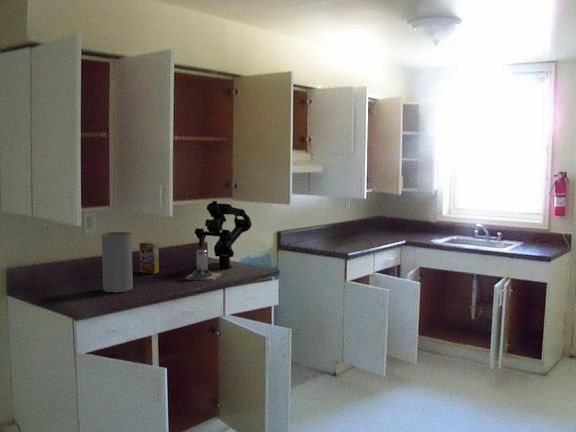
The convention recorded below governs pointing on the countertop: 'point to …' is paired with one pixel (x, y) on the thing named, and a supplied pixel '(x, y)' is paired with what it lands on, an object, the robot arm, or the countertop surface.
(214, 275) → the duct board
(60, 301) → the countertop surface
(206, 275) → the collar
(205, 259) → the metal canister
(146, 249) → the candy box
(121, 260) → the cylinder vase
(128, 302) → the countertop surface
